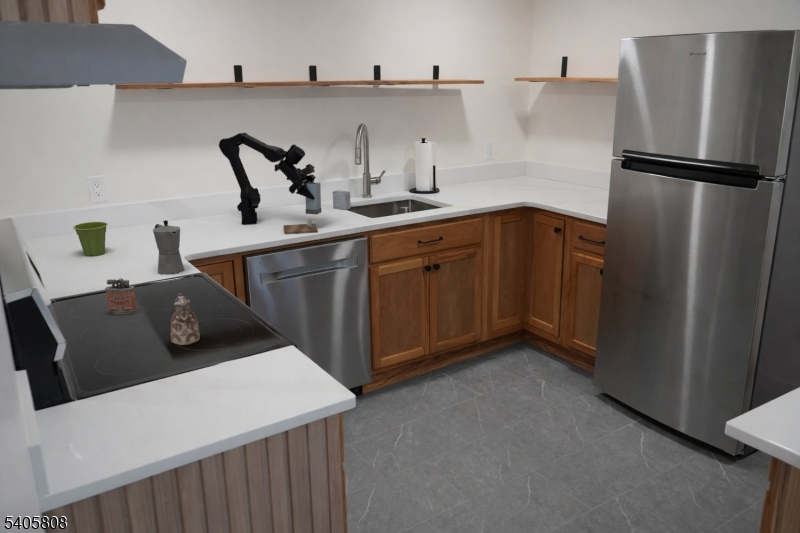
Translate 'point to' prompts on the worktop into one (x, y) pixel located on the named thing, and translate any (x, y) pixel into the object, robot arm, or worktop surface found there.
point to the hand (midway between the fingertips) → (316, 197)
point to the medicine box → (341, 200)
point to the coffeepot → (168, 248)
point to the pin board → (300, 228)
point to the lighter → (120, 297)
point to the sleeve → (315, 204)
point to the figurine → (184, 322)
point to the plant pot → (92, 237)
